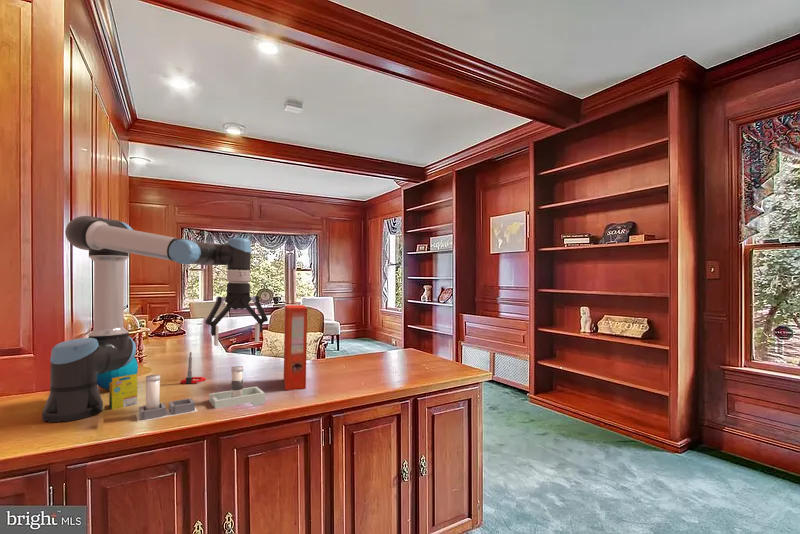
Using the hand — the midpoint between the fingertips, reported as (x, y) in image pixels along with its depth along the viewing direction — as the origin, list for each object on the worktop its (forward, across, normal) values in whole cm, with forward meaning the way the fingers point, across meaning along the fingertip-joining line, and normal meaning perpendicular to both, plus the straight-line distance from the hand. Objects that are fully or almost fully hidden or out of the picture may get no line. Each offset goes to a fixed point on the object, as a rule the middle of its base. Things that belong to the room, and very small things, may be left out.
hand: (237, 343), depth 137 cm
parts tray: (+21, 0, 0) cm, 21 cm away
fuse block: (+21, -21, -1) cm, 30 cm away
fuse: (+20, -25, -1) cm, 32 cm away
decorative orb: (+22, -34, +47) cm, 62 cm away
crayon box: (+22, -32, +15) cm, 41 cm away
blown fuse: (+20, 0, 0) cm, 20 cm away
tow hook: (+22, -7, +42) cm, 48 cm away
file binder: (+21, +26, +13) cm, 36 cm away
